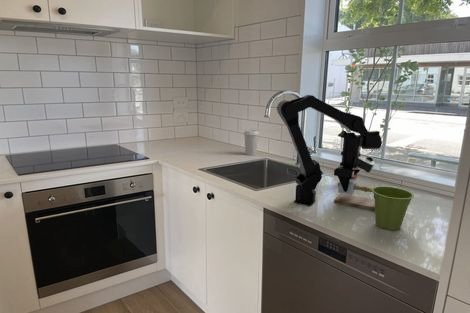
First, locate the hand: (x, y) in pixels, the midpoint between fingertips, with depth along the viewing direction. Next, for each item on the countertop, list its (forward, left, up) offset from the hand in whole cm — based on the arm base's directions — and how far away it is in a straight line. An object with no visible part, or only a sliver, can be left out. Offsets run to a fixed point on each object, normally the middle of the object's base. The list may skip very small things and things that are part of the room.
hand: (347, 189), depth 126 cm
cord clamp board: (+5, 0, -4) cm, 7 cm away
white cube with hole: (0, 0, -1) cm, 1 cm away
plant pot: (+17, -15, -5) cm, 23 cm away
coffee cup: (-72, +53, -5) cm, 89 cm away
